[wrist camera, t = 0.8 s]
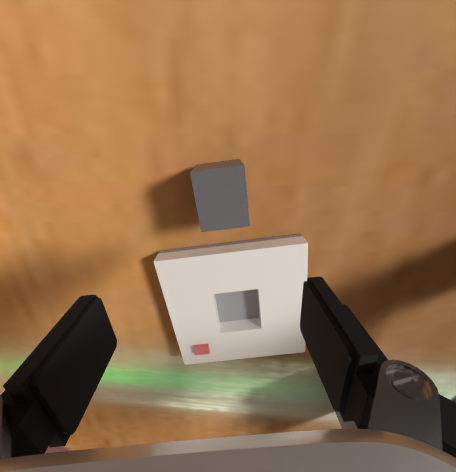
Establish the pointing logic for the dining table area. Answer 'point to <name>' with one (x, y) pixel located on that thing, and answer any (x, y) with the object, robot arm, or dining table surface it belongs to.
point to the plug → (220, 195)
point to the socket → (235, 297)
